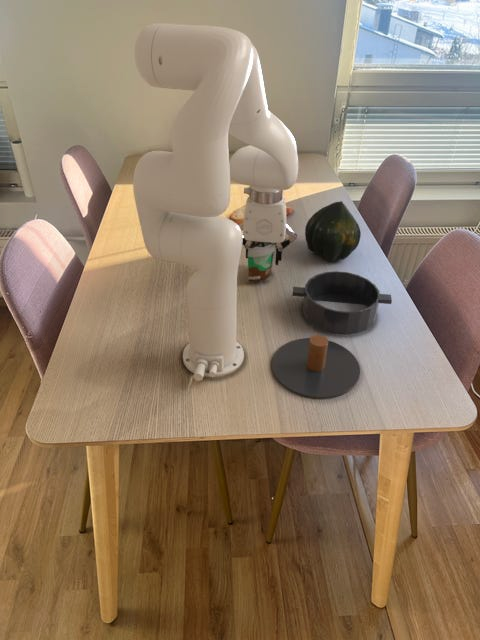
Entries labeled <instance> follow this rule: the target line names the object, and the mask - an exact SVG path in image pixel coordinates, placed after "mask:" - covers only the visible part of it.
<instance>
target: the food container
mask: <svg viewBox="0 0 480 640" xmlns="http://www.w3.org/2000/svg"><path fill="white" fill-rule="evenodd" d="M276 248H277V245H276V243H267V242H254V241H252V244H251V247H250V248H248V258H247V264H248V266H247V274H248V275H247V279H248V283H258V282H262V281H265V280H267V279H268V278H270V277H271V275H272V269H273V261H274V253H275V252H276Z"/></svg>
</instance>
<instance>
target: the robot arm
mask: <svg viewBox="0 0 480 640" xmlns="http://www.w3.org/2000/svg"><path fill="white" fill-rule="evenodd" d="M259 56H260V55H259V53H258V50H257V49H256V47H255V46H254V44H253V43H252V41H251V39H250V38H249V37H248V36H247V35H246V34H245V33H243V32H242V31H239V30H236V29H234V28H231V27H230V28H229V27H224V26H218V25H217V26H216V25H215V26H214V25H200V24H199V25H198V24H179V23H161V22H154V23H149V24H148V25H146V26H145V27H144V28H143V29H141V31H140V32H139V34H138V35H137V38H136V40H135V45H134V62H135V66H136V69H137V71H138V74H139V75H140V77H141V78H142V80H143V81H144V82H145V83H146V84H148V85H149V86H151V87H154V88H159V89H160V88H161V89H169V90H181V91H192V92H193V93H192V94H191V96H190V97H189V98H188V100H187V101H186V102H185V103H184V104H183V106H182V107H181V108H180V110H179V111H178V113H177V114H176V116H175V118H174V119H173V121H172V124H171V127H170V140H171V148H172V151H166V150H152V151H149V152H146V153H144V154H143V155H142V156H141V157H140V158H139V159H138V161H137V163H136V165H135V169H134V173H133V178H132V179H133V180H132V181H133V182H132V189H133V197H134V202H135V208H136V212H137V216H138V221H139V226H140V231H141V235H142V238H143V243H144V246H145V248H146V250H147V253H148V254H149V255H150V256H151V257H153V259H156V260H160V261H164V262H167V263H172V264H177V265H181V266H182V265H183V266H186V267H190V268H194V269H195V270H196V271H195V272H193V274H192V275H191V276H190V277H189V279H188V281H187V284H186V287H185V296H186V310H187V325H188V341H189V342H188V343H187V344H186V346H185V347H184V348H183V352H182V361H183V364H184V366H185V367H186V369H187V370H188V371H189V372H191V373H192V374H193V375H192V377H193V380H194V381H197V382H202V381H203V379H204V377H208V378H215V377H216V378H217V377H224V376H227V375H230V374H231V373H233V372H236V371H237V370H238V369H239V368H240V367H241V366H242V364H243V362H244V359H245V352H244V348H243V346H242V345H241V344H240V343H239V342H238V341H237V330H238V329H237V326H238V325H237V317H238V316H237V313H238V311H237V310H238V309H237V305H238V304H237V303H238V302H237V301H238V273H239V265H240V260H241V259H240V258H241V253H242V250H243V248H244V249H245V259H248V248H250V247H251V244H252V241H254V242H267V243H276V245H277V248H276V250H275V260H274V261H275V262H274V265H275V266H279V263H280V262H281V261H282V258H283V251H284V249H285V248H288V246H290V244H291V243H293V242H294V241H296V240H297V238H298V237H297V236H298V235H297V233H296V232H295V231H294V230H293V229H292V228H291V227H290V226H289V225H288V224H287V216H286V206H287V205H286V199H285V198H284V196H283V195H284V191H286V190H290V189H291V188H292V187H293V186H294V185H295V183H296V181H297V179H298V174H299V157H298V147H297V142H296V140H295V137H294V135H293V134H292V132H291V131H290V129H289V128H288V127H287V125H285V124H284V123H283V121H281V120H280V119H279V118H278V117H277V116H276V115H275V114H273V113H272V112H271V111H270V110H269V109H268V102H267V97H266V91H265V85H264V78H263V73H262V67H261V61H260V57H259ZM229 134H230V135H231V136H232V137H234V138H236V139H237V140H239V141H241V142H242V143H245V144H247V145H246V146H243V147H241V148H239V149H237V150H236V151H235V152H234V153H232V156H231V157H230V152H229ZM231 180H232V181H233V182H234V183H236V184H239V185H243V186H247V187H243V194H247V195H248V196H247V198H246V201H245V204H244V205H245V212H244V222H243V223H242V224H240V225H239V226H238V225H237V224H236V223H235V222H233V221H232V220H230V219H229V218H227V217H224V216H221V215H223V214H224V213H225V212H226V211H227V209H228V207H229V205H230V202H231V189H232V188H231V185H232V184H231ZM286 235H287V236H288V237H286Z"/></svg>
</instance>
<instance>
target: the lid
mask: <svg viewBox="0 0 480 640" xmlns="http://www.w3.org/2000/svg"><path fill="white" fill-rule="evenodd" d="M271 368H272V369H271V370H272V373H273V375H274V377H275V379H276V380H277V382H279V384H280V385H281V386H283V387H284V388H285V389H286V390H288V391H290V392H292V393H294V394H296V395H299V396H301V397H305V398H310V399H319V400H321V399H322V400H323V399H324V400H325V399H326V400H327V399H333V398H337V397H340V396H343V395H346V394H347V393H349V392H350V391H351V390H352V389H354V387H355V386H356V385H357V384H358V382H359V379H360V375H361V366H360V364H359V361H358V360H357V358H356V356H355V355H354V354H353V353H352V352H351V351H350V350H349V349H348V348H346V347H345V346H343V345H341V344H339V343H337V342H334V341H332V340H329V338H327V336H325V335H322V334H314V335H311V336H310V337H304V338H303V337H302V338H297V339H294V340H290V341H288V342H286V343H285V344H283V345H282V346H280V347H279V348H278V349H277V350H276V352H275V353H274V354H273V357H272V361H271Z"/></svg>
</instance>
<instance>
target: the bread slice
mask: <svg viewBox="0 0 480 640" xmlns="http://www.w3.org/2000/svg"><path fill="white" fill-rule="evenodd" d="M245 205H246V204H244V205H243V206H242V207H239V208H237V209H235V210H234V211H233V212H232V213H231V214H230V215H229V218H228V219H230V220H232V221H233V222H235V223H236V224H237V225H238V226H239V225H240V224H242V223H243V222H244V212H245ZM292 213H293V208H292V207H291V206H288V205H286V217H287V216H289V215H291V214H292Z"/></svg>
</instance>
